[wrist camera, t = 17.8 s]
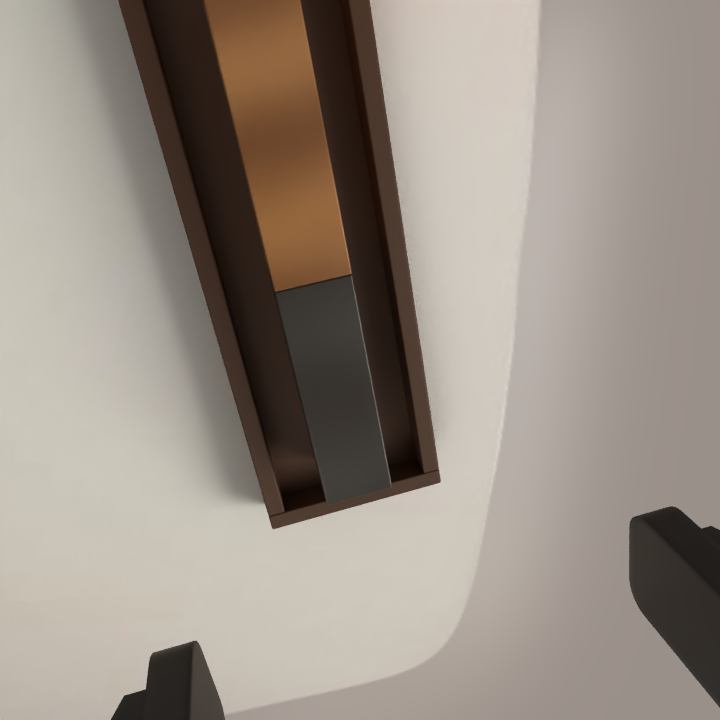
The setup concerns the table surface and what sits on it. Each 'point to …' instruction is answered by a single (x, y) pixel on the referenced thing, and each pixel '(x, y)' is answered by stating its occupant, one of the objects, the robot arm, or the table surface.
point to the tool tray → (245, 254)
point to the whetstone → (301, 234)
